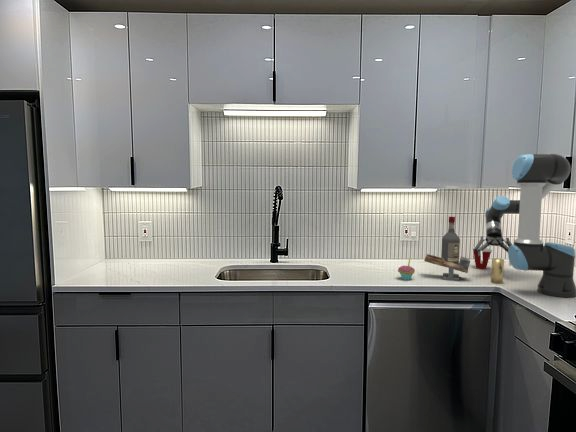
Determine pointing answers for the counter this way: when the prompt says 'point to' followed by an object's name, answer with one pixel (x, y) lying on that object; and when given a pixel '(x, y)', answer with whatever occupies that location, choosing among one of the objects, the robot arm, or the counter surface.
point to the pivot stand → (451, 274)
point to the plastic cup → (485, 256)
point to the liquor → (451, 244)
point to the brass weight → (497, 271)
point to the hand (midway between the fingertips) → (496, 263)
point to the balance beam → (449, 263)
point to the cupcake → (406, 271)
